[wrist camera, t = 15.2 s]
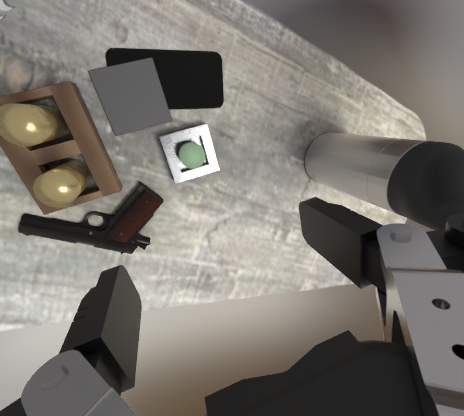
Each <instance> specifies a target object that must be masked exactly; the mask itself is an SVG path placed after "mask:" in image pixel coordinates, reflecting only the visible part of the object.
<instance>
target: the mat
mask: <svg viewBox="0 0 464 416" xmlns="http://www.w3.org/2000/svg"><path fill="white" fill-rule="evenodd" d="M88 72H89V74H90V77H91V79H92V81H93V84H94V86H95V88H96V91H97V93H98V95H99V98H100V100H101V102H102V105H103V107H104V109H105V112H106V114H107V117H108V119H109V121H110V124H111V126H112V128H113V131H114V133H115V135H116V136H118V135H122V134H126V133H129V132H133V131H137V130H141V129H144V128H148V127H152V126H156V125H159V124H163V123H167V122H171V121H172V118H171V115H170V112H169V109H168V105H167V102H166V99H165V96H164V93H163V90H162V87H161V84H160V81H159V77H158V74H157V71H156V68H155V65H154V62H153V59H152V58H147V59H142V60H138V61H133V62H128V63H124V64H119V65H114V66H110V67H105V68H100V69H96V70H91V71H88Z"/></svg>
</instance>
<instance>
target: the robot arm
mask: <svg viewBox="0 0 464 416" xmlns="http://www.w3.org/2000/svg"><path fill="white" fill-rule="evenodd" d="M305 168H306V172H307V174H308V175H309V177H310V178H311V179H313V180H314V181H316V182H319V183H321V184H324V185H326V186H328V187H331V188H333V189H336V190H338V191H341V192H343V193H346V194H348V195H351V196H353V197H356V198H358V199H361V200H363V201H366V202H368V203H371V204H374V205H376V206H379V207H381V208H384V209H386V210H389V211H391V212H394V213H396V214H399V215H402V216H404V217H407V218H409V219H411V220H413V221H415V222H417V223H419V224H421V225H424V226H427V227H429V228H431V229H434V230H436V231H430V232H425V231H424V230H422V229H420V228H418V227H416V226H412V225H407V224H388V225H384V226H383V225H381V224H379V223H377V222H375V221H373V220H371V219H369V218H367V217H364V216H362V215H360V214H359V215H358V213H356V212H354V211H351V210H350V209H348V208H346V207H344V206H342V205H337V204H332V203H327V202H325V201H323V200H321V199H319V198H317V197H314V198H311V199H308V200H306V201H303V202H300V204H299V212H300V220H301V227H302V233H303V237H304V239H305V241H306V242H307V243H308V244H309V245H310V246H311V247H312V248H313V249H315V250H316V251H317V252H318V253H319V254H320V255H322V256H323V257H324V258H325V259H326V260H327V261H329V262H330V263H331V264H332V265H333V266H335V267H336V268H337V269H338V270H339V271H340V272H342V273H343V274H344V275H345V276H346V277H347V278H349V279H350V280H351V281H352V282H353V283H355V284H356V285H357V286H358V287H359V288H363V287H366V286H368V285H370V284H373V285H375V286H376V297H377V303H378V308H379V314H380V318H381V324H382V330H383V335H384V341H375V340H366V341H358V340H357V339H356V338H355V337H354V336H353V335H352V334H351V332H350V331H346V332H344V333H341V334H339V335H337V336H335V337H333V338H331V339H329V340H326V341H324V342H322V343H320V344H318V345H316V346H315V347H314V348H312V349H311V350H310V351H309V352H308V353H307V354H306V355H305V356H303V357H302V358H301V359H300V360H299V361H298V362H297V363H296V364H294V365H293V366H292V367H291V368H290V369H289V370H287V371H286V372H283V373H278V374H272V375H267V376H261V377H254V378H249V379H243V380H241V381H239V382H236V383H234V384H232V385H230V386H228V387H226V388H224V389H221V390H219V391H217V392H215V393H213V394H211V395H209V396H207V397H205V403H206V409H207V413H206V414H205V415H204V416H464V150H463V149H462V148H460V147H459V146H457V145H454V144H451V143H444V142H433V141H421V140H409V139H397V138H386V137H375V136H364V135H353V134H344V133H332V132H331V133H325V134H322V135H320V136H318V137H317V138H316V139H315V140H314V141H313V142H312V143H311V145H310V146H309V148H308V150H307V153H306V157H305ZM141 309H142V306H141V300H140V296H139V294H138V292H137V290H136V288H135V286H134V284H133V282H132V280H131V278H130V276H129V274H128V272H127V270H126V269H125V267H124V266H123V265H119V266H117V267H114V268H111V269H108V270H105V271H103V272H101V275H100V277H99V280H98V283H97V285H96V287H94V288H91V289H90V291H89V292H88V293H87V294H86V295H85V297H84V298H83V299H82V301H81V303H80V305H79V308H78V310H77V311H78V312H77V313H76V315H75V317H74V319H73V320H74V322H72V324H71V326H70V329H69V331H68V333H67V336H66V338H65V341H64V343H63V345H62V348H61V350H60V352H59V354H58V355H57V356H55V357H54V358H52V359H50V360H49V361H48V362H46V363H45V364H44V365H43V366H41V367H40V368H39V369H38V370H37V371H36V372H35V374H34V375H33V376H32V377H31V379H30V380H29V381H28V382H27V384H26V386H25V388H24V390H23V393H22V396H21V398H19V399H18V400H16V401H15V402H13V403H12V404H10V405H9V406H7V407H6V408H4V409H3V410H1V411H0V416H137V415H136V414H135V412H134V411H133V410H132V409H131V408H130V407H129V406H128V404H127V403H126V402H125V401H124V400H123V399H122V398H121V396H120V395H121V392H124V391H125V390H128V389H131V388H132V387H134V384H135V373H136V362H137V350H138V341H139V330H140V319H141Z"/></svg>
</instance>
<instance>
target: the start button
mask: <svg viewBox="0 0 464 416" xmlns="http://www.w3.org/2000/svg"><path fill="white" fill-rule="evenodd" d="M178 155H179V159H180V161H181V162H182V164H183V165H184V166H185V167H187V168H190V169H195V168H198V167H200V166H201V165H202V164H203V163H204V160H205V152H204V149H203V148H202V147H201V146H200V145H198V144H197V143H195V142H186V143H184V144H182V145H181V147H180V148H179V152H178Z"/></svg>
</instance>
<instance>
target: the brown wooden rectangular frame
mask: <svg viewBox="0 0 464 416" xmlns="http://www.w3.org/2000/svg"><path fill="white" fill-rule="evenodd" d="M50 98H54V99H55V101H56V103H57V105H58V107H59V109H60V111H61V113H62V115H63V117H64V119H65V121H66V123H67V125H68V127H69V129H70V131H71V133H72V135H73V137H74V140H70V141H67V142H63V143H59V144H55V145H51V146H47V147H44V148H40V149H38V148H37V146H36V145H32V146H18V145H15V144H12V143H10V142H8V141H7V140H5V139H4V138H3V137H2V136H1V135H0V146H1V147H2V149H3V151H4V152H5V154H6V155H7V157H8V158H9V160H10V162H11V163H12V165H13V166H14V168H15V170H16V171H17V173H18V174H19V176H20V177H21V179H22V181H23V182H24V184H25V185H26V187H27V188H28V190H29V192H30V193H31V195H32V196H33V198H34V200H35V201H36V203H37V204H38V206H39V207H40V209H41V211H42V212H43V214H44V215H45V214H49V213H52V212H55V211H58V210H62V209H65V208H68V207H71V206H75V205H78V204H81V203H84V202H88V201H91V200H94V199H97V198H101V197H104V196H107V195H110V194H113V193H117V192H120V191H121V189H122V187H123V186H122V184H121V182H120V180H119V178H118V175H117V173H116V171H115V169H114V166H113V164H112V162H111V160H110V158H109V155H108V153H107V151H106V149H105V147H104V144H103V142H102V140H101V138H100V136H99V133H98V131H97V129H96V127H95V125H94V122H93V120H92V118H91V116H90V113H89V111H88V109H87V107H86V105H85V102H84V100H83V98H82V96H81V94H80V91H79V89H78V87H77V85H76V84H75V83H73V82H65V83H61V84H56V85H51V86H47V87H42V88H38V89H33V90H28V91H24V92H19V93H15V94H10V95H5V96H1V97H0V107H1V106H3V105H5V104H10V103H16V104H28V103H33V102H37V101H41V100H46V99H50ZM79 154H82V155H83V157H84V159H85V161H86V163H87V166H88V168H89V170H90V172H91V174H92V176H93V178H94V180H95V182H96V184H97V186H98V188H95V189H92V190H89V191H85V192H82V193H80V194H79V195H78V196H77V198H76V199H75V200H74V201H73V202H72V203H71V204H69V205H67V206H65V207H50V206H47V205H45V204H43V203H42V202H41V201H39V200H38V199H37V197H36V196H35V194H34V191H33V184H34V182H35V180H36V179H37V178H38V177H39V176H40V175H42V174H44V173H46V172H48V171H50V169H49V167H48V165H47V163H49V162H53V161H57V160H60V159H64V158H68V157H71V156H75V155H79Z"/></svg>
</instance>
